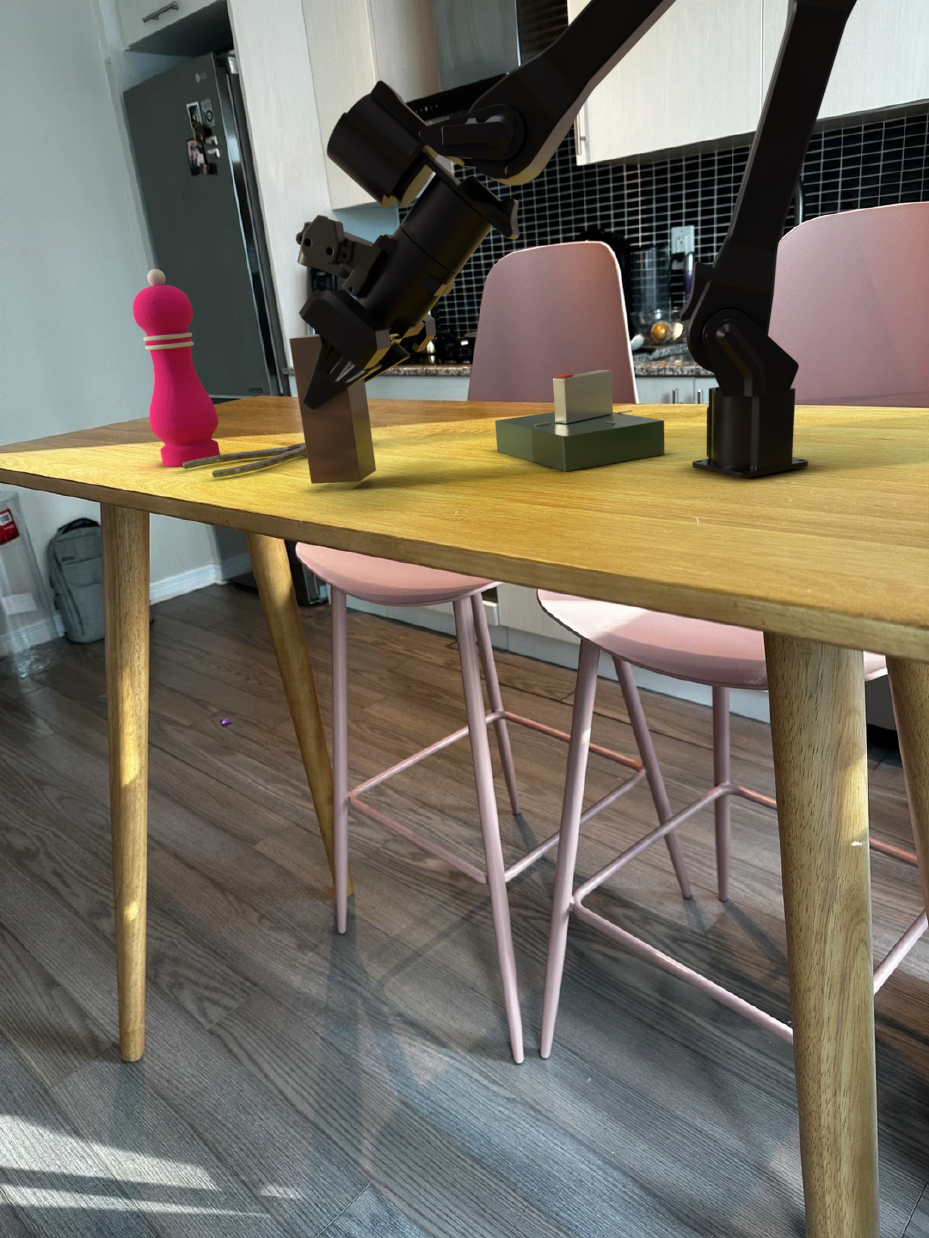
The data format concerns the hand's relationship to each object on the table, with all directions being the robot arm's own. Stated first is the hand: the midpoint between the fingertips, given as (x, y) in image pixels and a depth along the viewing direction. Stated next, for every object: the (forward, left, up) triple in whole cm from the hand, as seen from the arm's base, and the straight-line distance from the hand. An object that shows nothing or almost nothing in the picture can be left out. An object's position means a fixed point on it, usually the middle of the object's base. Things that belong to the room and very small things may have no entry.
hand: (318, 402), depth 76 cm
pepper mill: (+27, +9, -7) cm, 29 cm away
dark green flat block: (-3, -23, -7) cm, 24 cm away
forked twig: (+20, +1, -7) cm, 21 cm away
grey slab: (-3, -24, -4) cm, 25 cm away
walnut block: (-1, -1, -7) cm, 7 cm away
